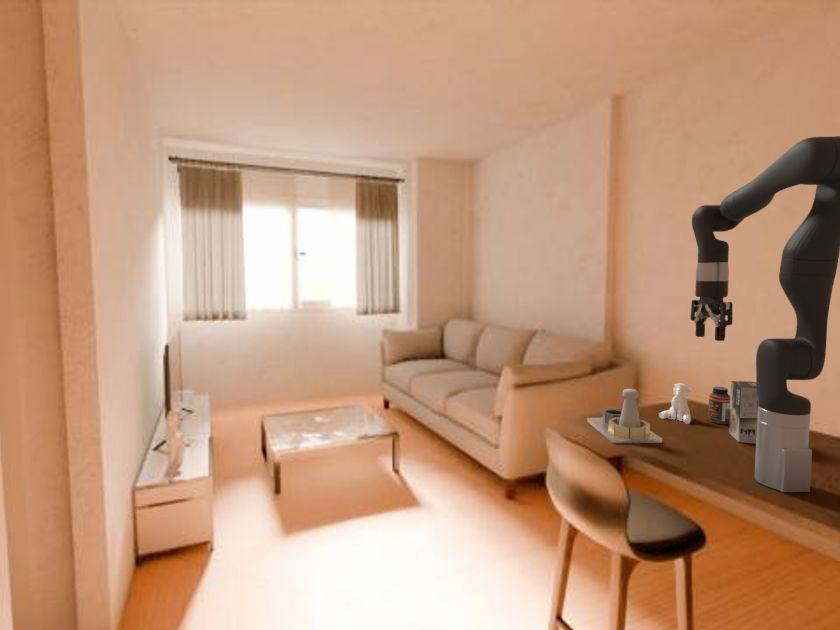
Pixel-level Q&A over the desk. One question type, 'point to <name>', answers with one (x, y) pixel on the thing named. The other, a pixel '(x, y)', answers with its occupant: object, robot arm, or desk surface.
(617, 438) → the fitting plate
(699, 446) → the desk surface
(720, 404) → the supplement bottle
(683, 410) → the sitting furry creature
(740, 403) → the coffee box
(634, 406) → the salt shaker
